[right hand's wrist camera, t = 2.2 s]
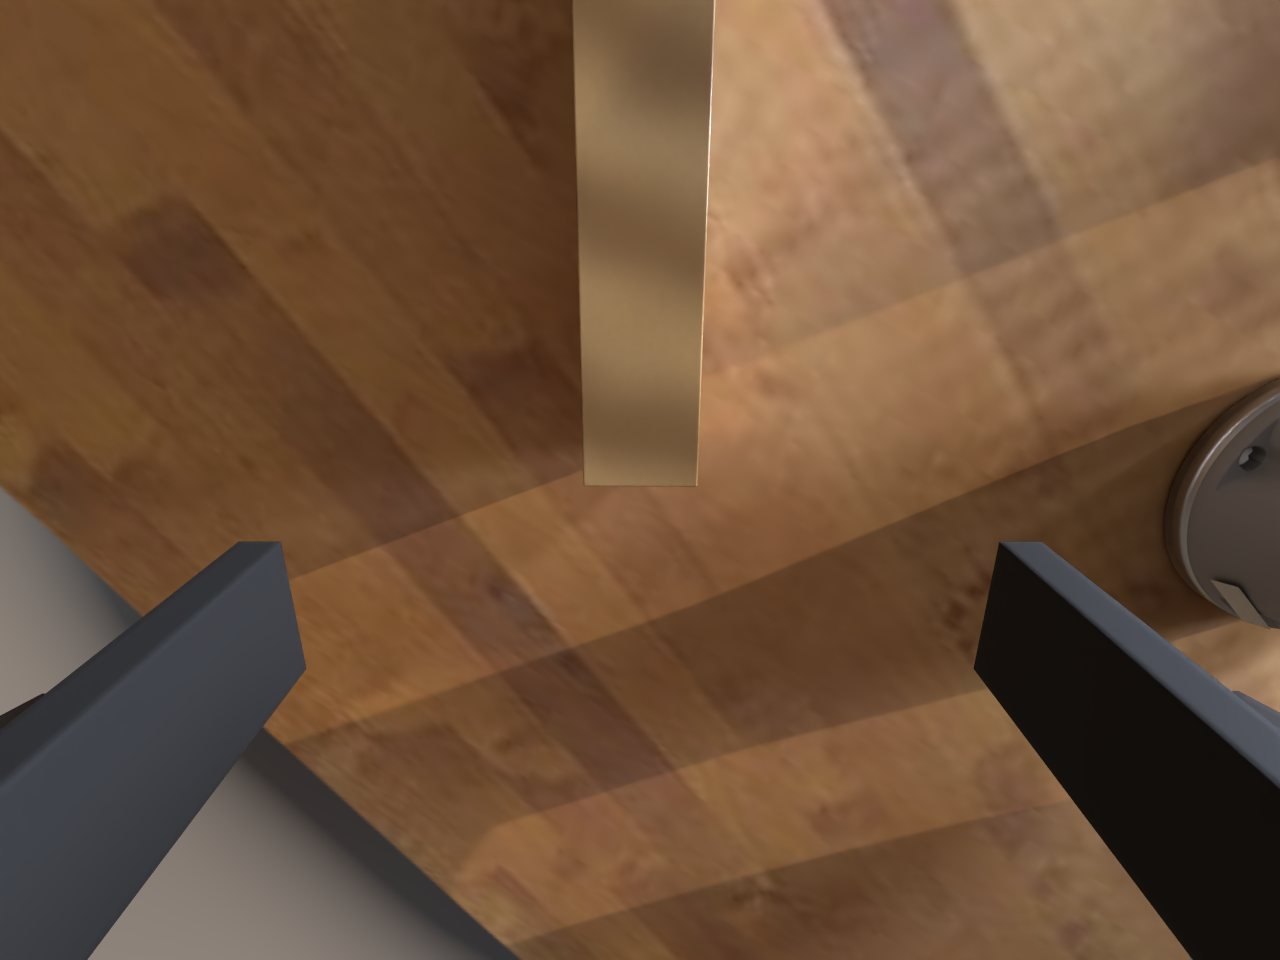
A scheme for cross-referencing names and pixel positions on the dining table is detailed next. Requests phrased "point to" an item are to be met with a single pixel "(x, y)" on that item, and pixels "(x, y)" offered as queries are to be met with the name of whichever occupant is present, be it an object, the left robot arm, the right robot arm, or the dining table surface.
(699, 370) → the beam
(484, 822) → the dining table surface
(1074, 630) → the right robot arm
